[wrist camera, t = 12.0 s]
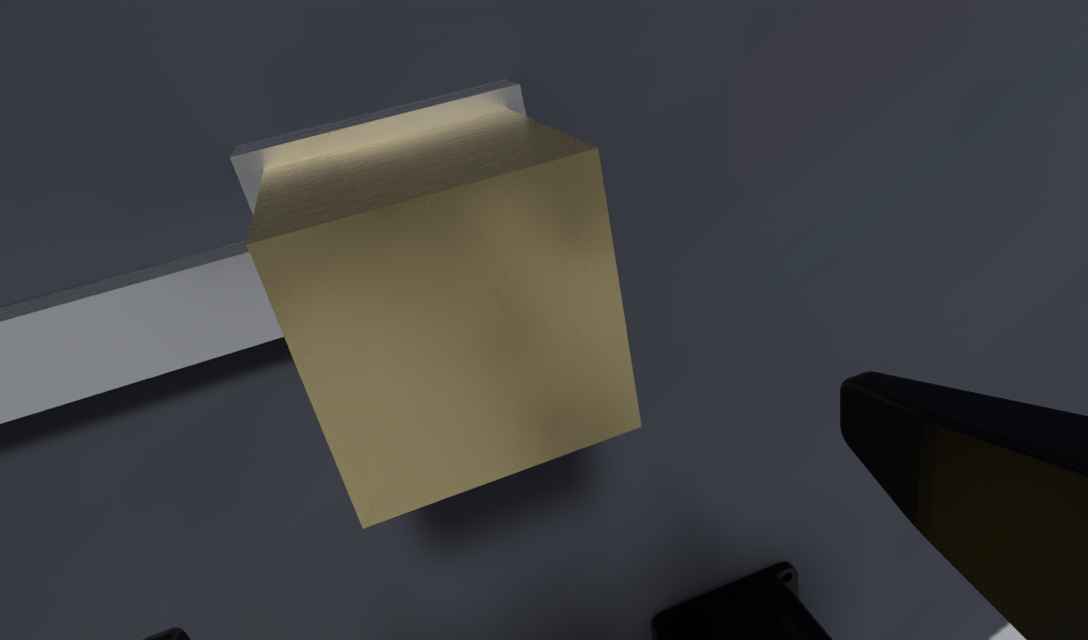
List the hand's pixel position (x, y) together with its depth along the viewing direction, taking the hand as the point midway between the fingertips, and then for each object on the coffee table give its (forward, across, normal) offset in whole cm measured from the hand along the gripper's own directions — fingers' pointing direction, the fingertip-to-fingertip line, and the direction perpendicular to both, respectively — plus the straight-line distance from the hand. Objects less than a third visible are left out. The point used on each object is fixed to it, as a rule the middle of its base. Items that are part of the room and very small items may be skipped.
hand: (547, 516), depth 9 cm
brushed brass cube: (+10, 0, 0) cm, 11 cm away
